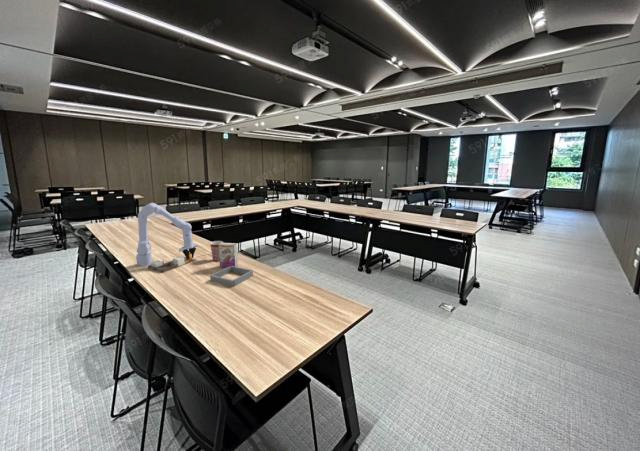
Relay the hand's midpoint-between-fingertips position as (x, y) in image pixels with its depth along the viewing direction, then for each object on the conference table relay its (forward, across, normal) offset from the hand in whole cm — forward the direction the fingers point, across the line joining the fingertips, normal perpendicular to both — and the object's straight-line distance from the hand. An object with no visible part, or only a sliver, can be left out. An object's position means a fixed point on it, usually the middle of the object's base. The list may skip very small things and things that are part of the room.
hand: (189, 258), depth 195 cm
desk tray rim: (+2, -9, -48) cm, 49 cm away
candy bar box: (+3, +5, -32) cm, 32 cm away
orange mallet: (+1, -5, 0) cm, 5 cm away
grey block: (+1, -20, +7) cm, 21 cm away
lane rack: (+2, -10, +4) cm, 11 cm away
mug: (+3, +13, -16) cm, 21 cm away
